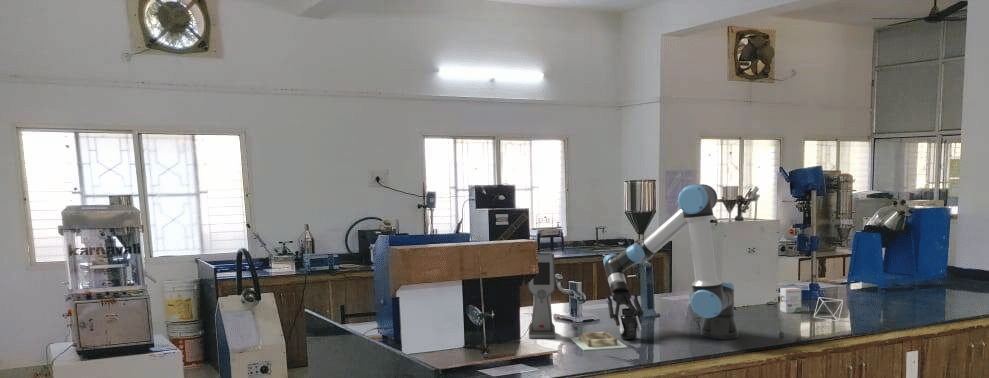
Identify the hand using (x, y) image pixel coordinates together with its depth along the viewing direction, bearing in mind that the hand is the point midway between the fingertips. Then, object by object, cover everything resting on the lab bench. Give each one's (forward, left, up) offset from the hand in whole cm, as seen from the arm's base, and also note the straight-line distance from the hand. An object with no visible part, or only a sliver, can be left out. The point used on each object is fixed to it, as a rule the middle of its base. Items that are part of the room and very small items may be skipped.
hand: (631, 331), depth 246 cm
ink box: (-68, -79, -4) cm, 105 cm away
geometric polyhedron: (-83, -69, -4) cm, 108 cm away
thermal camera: (+38, +2, -4) cm, 38 cm away
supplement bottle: (+1, -3, -4) cm, 5 cm away
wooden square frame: (+13, +7, -4) cm, 15 cm away
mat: (+13, +7, -4) cm, 15 cm away
